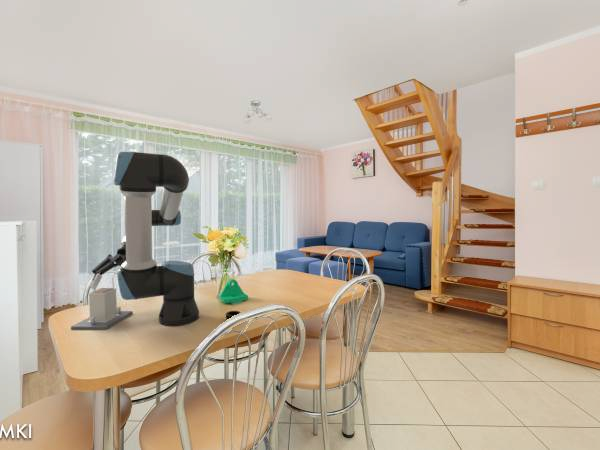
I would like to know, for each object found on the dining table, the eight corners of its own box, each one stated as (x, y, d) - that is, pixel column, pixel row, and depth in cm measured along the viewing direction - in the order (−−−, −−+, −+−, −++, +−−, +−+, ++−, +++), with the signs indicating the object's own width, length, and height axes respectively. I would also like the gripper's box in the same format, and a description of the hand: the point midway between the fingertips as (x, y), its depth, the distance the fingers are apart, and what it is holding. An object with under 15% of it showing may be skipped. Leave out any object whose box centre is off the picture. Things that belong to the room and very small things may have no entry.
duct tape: (221, 325, 116) (220, 317, 115) (226, 315, 126) (226, 309, 125) (241, 325, 116) (241, 317, 116) (244, 315, 126) (244, 308, 126)
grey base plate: (132, 313, 127) (132, 305, 127) (105, 329, 111) (105, 320, 110) (102, 313, 128) (102, 305, 128) (71, 329, 111) (70, 319, 111)
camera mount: (224, 305, 139) (224, 283, 138) (219, 301, 145) (219, 280, 145) (248, 301, 145) (248, 280, 145) (242, 297, 152) (242, 277, 151)
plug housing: (116, 314, 123) (116, 287, 122) (105, 321, 116) (104, 292, 115) (102, 314, 123) (101, 287, 122) (90, 321, 116) (89, 292, 115)
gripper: (159, 252, 140) (142, 293, 126) (106, 252, 140) (83, 292, 126) (153, 242, 134) (135, 283, 120) (97, 242, 134) (73, 283, 120)
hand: (108, 288), depth 123 cm, fingers open, 13 cm apart
